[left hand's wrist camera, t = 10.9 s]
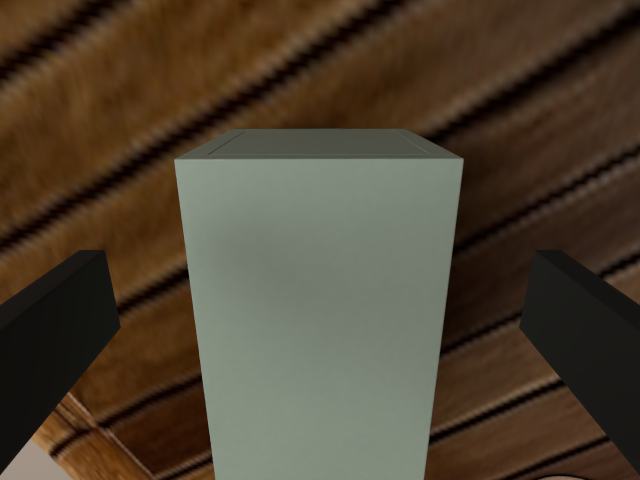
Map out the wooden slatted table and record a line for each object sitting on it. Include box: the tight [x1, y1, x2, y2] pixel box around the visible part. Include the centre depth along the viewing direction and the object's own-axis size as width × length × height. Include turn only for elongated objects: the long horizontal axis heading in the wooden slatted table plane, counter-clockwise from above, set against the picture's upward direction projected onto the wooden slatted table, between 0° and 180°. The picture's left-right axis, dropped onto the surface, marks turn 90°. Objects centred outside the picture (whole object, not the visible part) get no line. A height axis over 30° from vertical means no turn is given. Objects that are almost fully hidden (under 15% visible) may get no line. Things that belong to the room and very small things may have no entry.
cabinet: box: [174, 129, 464, 480], centre depth 25 cm, size 20×12×12 cm, turn 0°
